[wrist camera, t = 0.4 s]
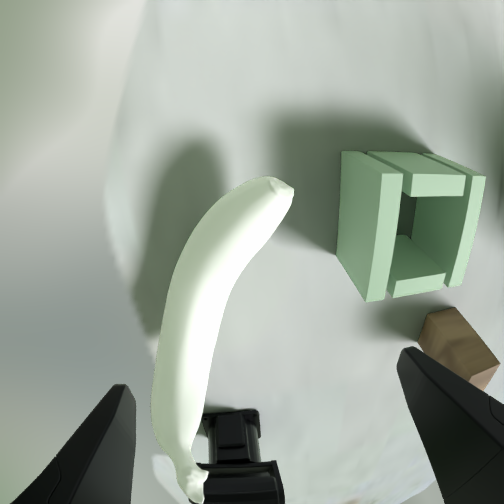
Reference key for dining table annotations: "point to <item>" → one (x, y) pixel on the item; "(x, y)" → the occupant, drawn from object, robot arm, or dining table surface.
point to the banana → (206, 314)
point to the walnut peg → (458, 347)
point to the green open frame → (424, 227)
